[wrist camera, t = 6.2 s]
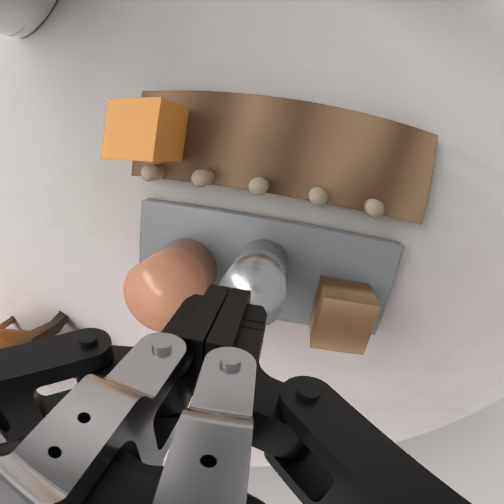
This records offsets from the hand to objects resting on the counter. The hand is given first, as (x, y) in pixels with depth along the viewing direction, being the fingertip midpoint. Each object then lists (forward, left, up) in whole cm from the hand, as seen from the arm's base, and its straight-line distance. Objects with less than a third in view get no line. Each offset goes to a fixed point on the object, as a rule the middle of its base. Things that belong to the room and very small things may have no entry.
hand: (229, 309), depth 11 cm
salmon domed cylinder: (+4, -6, -12) cm, 14 cm away
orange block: (-7, -9, -11) cm, 16 cm away
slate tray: (+3, 0, -13) cm, 13 cm away
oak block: (+4, +7, -12) cm, 14 cm away
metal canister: (+2, 0, -12) cm, 12 cm away
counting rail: (-7, 0, -13) cm, 15 cm away
